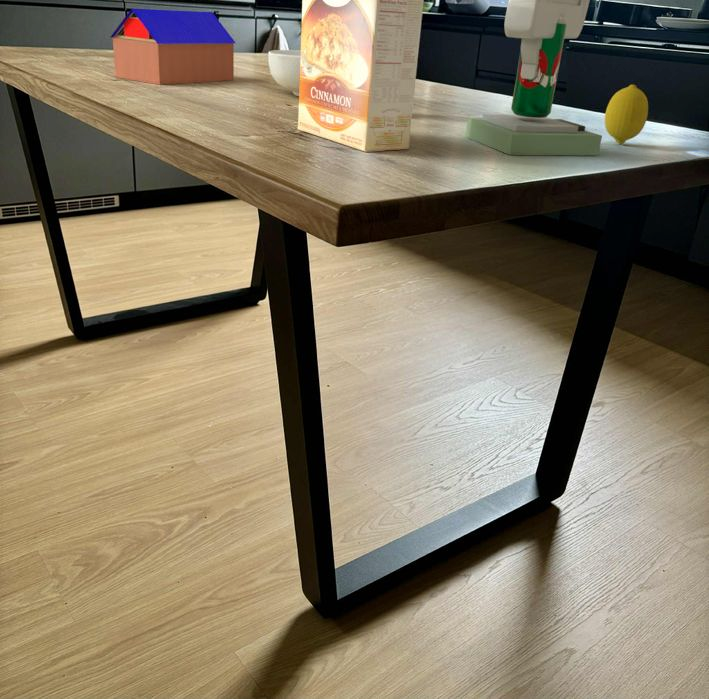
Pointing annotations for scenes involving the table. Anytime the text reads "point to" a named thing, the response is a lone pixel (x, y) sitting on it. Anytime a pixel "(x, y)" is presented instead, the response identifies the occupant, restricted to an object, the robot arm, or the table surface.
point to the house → (172, 47)
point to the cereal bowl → (286, 68)
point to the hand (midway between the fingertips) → (537, 77)
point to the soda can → (540, 78)
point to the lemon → (626, 114)
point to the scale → (532, 135)
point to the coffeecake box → (359, 71)
